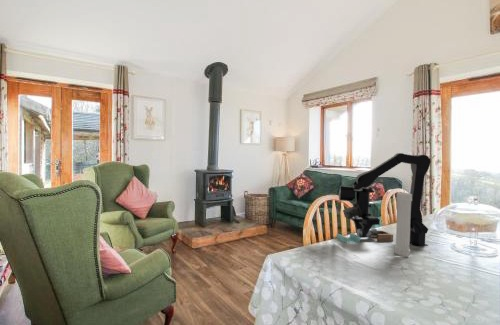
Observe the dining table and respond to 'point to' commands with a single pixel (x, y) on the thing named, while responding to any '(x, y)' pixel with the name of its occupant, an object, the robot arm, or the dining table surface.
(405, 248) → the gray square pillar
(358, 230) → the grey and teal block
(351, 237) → the cradle
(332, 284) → the dining table surface
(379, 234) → the brown block
